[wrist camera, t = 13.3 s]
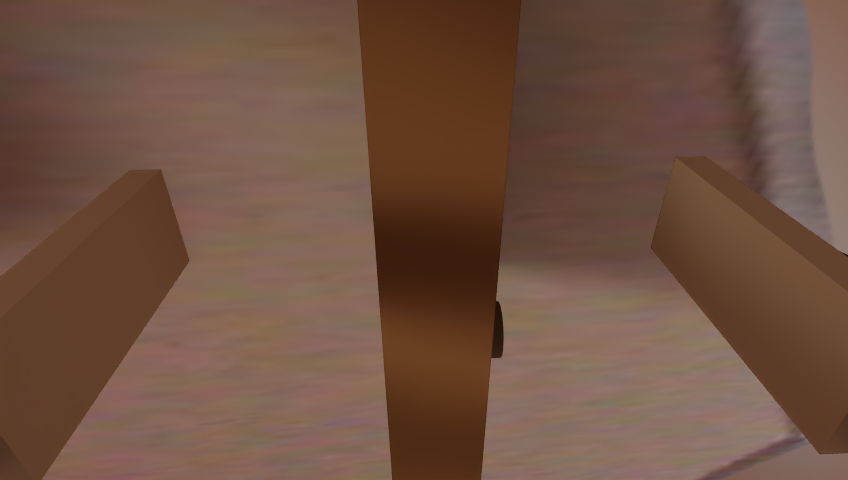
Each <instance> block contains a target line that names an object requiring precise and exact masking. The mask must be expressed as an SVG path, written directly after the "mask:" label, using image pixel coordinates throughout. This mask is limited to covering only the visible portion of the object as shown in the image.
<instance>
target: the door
mask: <svg viewBox="0 0 848 480" xmlns="http://www.w3.org/2000/svg"><path fill="white" fill-rule="evenodd" d="M357 3H358V16H359V30H360V44H361V57H362V71H363V85H364V98H365V112H366V126H367V139H368V153H369V167H370V180H371V194H372V208H373V221H374V235H375V249H376V262H377V276H378V290H379V303H380V317H381V330H382V344H383V358H384V371H385V385H386V399H387V412H388V426H389V440H390V453H391V467H392V480H481V473H482V461H483V449H484V437H485V425H486V413H487V401H488V389H489V378H490V366H491V358H501V356H502V353H503V319H502V312H501V307H500V304H499V302H498V301H496V294H497V282H498V270H499V258H500V246H501V234H502V222H503V210H504V198H505V186H506V174H507V162H508V150H509V138H510V126H511V114H512V102H513V90H514V78H515V66H516V54H517V42H518V30H519V19H520V7H521V0H357Z"/></svg>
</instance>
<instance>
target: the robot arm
mask: <svg viewBox="0 0 848 480" xmlns="http://www.w3.org/2000/svg"><path fill="white" fill-rule="evenodd" d="M651 249H652V250H653V251H654V252H655V253H656V255H657V256H658V257H659V258H660V260H661V261H662V262H663V263H664V264H665V266H666V267H667V268H668V269H669V271H670V272H671V273H672V274H673V275H674V277H675V278H676V279H677V280H678V282H679V283H680V284H681V285H682V286H683V288H684V289H685V290H686V291H687V293H688V294H689V295H690V296H691V297H692V299H693V300H694V301H695V302H696V304H697V305H698V306H699V307H700V309H701V310H702V311H703V312H704V313H705V315H706V316H707V317H708V318H709V320H710V321H711V322H712V323H713V324H714V326H715V327H716V328H717V329H718V331H719V332H720V333H721V334H722V335H723V337H724V338H725V339H726V340H727V342H728V343H729V344H730V345H731V346H732V348H733V349H734V350H735V351H736V353H737V354H738V355H739V356H740V357H741V359H742V360H743V361H744V362H745V364H746V365H747V366H748V367H749V368H750V370H751V371H752V372H753V373H754V375H755V376H756V377H757V378H758V379H759V381H760V382H761V383H762V384H763V386H764V387H765V388H766V389H767V390H768V392H769V393H770V394H771V395H772V397H773V398H774V399H775V400H776V401H777V403H778V404H779V405H780V406H781V408H782V409H783V410H784V411H785V412H786V414H787V415H788V416H789V417H790V419H791V420H792V421H793V422H794V423H795V425H796V426H797V427H798V428H799V430H800V431H801V432H802V433H803V434H804V436H805V437H806V438H807V439H808V441H809V442H810V443H811V444H812V445H813V447H814V448H815V449H816V450H817V452H818V453H819V454H838V453H848V255H847V254H845V253H842V252H840V251H838V250H837V249H836V248H834V247H833V246H831V245H830V244H828V243H827V242H826V241H824V240H823V239H821V238H820V237H819V236H817V235H816V234H814V233H813V232H811V231H810V230H809V229H807V228H806V227H804V226H803V225H801V224H800V223H799V222H797V221H796V220H794V219H793V218H791V217H790V216H789V215H787V214H786V213H784V212H783V211H781V210H780V209H779V208H777V207H776V206H774V205H773V204H772V203H770V202H769V201H767V200H766V199H764V198H763V197H762V196H760V195H759V194H757V193H756V192H754V191H753V190H752V189H750V188H749V187H747V186H746V185H744V184H743V183H742V182H740V181H739V180H737V179H736V178H735V177H733V176H732V175H730V174H729V173H727V172H726V171H725V170H723V169H722V168H720V167H719V166H717V165H716V164H715V163H713V162H712V161H710V160H709V159H707V158H706V157H675V161H674V164H673V168H672V172H671V175H670V179H669V183H668V186H667V190H666V193H665V197H664V201H663V204H662V208H661V212H660V215H659V219H658V222H657V226H656V230H655V233H654V237H653V241H652V244H651ZM188 262H189V257H188V254H187V251H186V248H185V245H184V242H183V238H182V235H181V232H180V229H179V226H178V222H177V219H176V216H175V213H174V210H173V207H172V203H171V200H170V197H169V194H168V191H167V188H166V184H165V181H164V178H163V175H162V172H161V169H159V170H129V171H128V172H127V173H126V174H125V175H123V176H122V177H121V178H120V179H119V180H117V181H116V182H115V183H114V184H113V185H111V186H110V187H109V188H108V189H106V190H105V191H104V192H103V193H102V194H100V195H99V196H98V197H97V198H96V199H94V200H93V201H92V202H91V203H89V204H88V205H87V206H86V207H85V208H83V209H82V210H81V211H80V212H79V213H77V214H76V215H75V216H74V217H73V218H71V219H70V220H69V221H68V222H66V223H65V224H64V225H63V226H62V227H60V228H59V229H58V230H57V231H56V232H54V233H53V234H52V235H51V236H49V237H48V238H47V239H46V240H45V241H43V242H42V243H41V244H40V245H39V246H37V247H36V248H35V249H34V250H32V251H31V252H30V253H29V254H28V255H26V256H25V257H24V258H23V259H22V260H20V261H19V262H18V263H17V264H16V265H14V266H13V267H12V268H11V269H9V270H8V271H7V272H6V273H5V274H3V275H2V276H0V480H42V478H43V477H44V475H45V474H46V472H47V471H48V469H49V468H50V466H51V465H52V463H53V462H54V460H55V459H56V457H57V456H58V454H59V453H60V451H61V450H62V449H63V447H64V446H65V444H66V443H67V441H68V440H69V438H70V437H71V435H72V434H73V432H74V431H75V429H76V428H77V426H78V425H79V423H80V422H81V420H82V419H83V417H84V416H85V415H86V413H87V412H88V410H89V409H90V407H91V406H92V404H93V403H94V401H95V400H96V398H97V397H98V395H99V394H100V392H101V391H102V389H103V388H104V386H105V385H106V383H107V382H108V381H109V379H110V378H111V376H112V375H113V373H114V372H115V370H116V369H117V367H118V366H119V364H120V363H121V361H122V360H123V358H124V357H125V355H126V354H127V352H128V351H129V349H130V348H131V346H132V345H133V344H134V342H135V341H136V339H137V338H138V336H139V335H140V333H141V332H142V330H143V329H144V327H145V326H146V324H147V323H148V321H149V320H150V318H151V317H152V315H153V314H154V312H155V311H156V310H157V308H158V307H159V305H160V304H161V302H162V301H163V299H164V298H165V296H166V295H167V293H168V292H169V290H170V289H171V287H172V286H173V284H174V283H175V281H176V280H177V278H178V277H179V276H180V274H181V273H182V271H183V270H184V268H185V267H186V265H187V264H188Z"/></svg>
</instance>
